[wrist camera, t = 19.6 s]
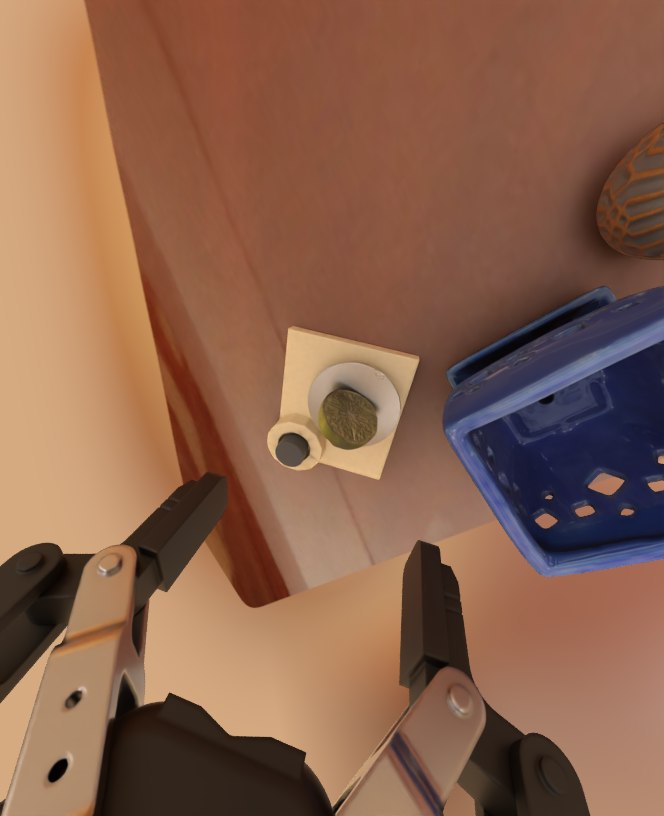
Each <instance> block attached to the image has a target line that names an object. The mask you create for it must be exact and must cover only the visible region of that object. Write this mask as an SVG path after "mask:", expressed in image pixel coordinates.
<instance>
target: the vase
mask: <svg viewBox="0 0 664 816" xmlns="http://www.w3.org/2000/svg"><path fill="white" fill-rule="evenodd" d="M597 225H598V229H599V232H600V234H601V236H602V238H603V239H604V240H605V242H606V243H607V244H608V245H609V246H611V247H612V248H613V249H614V250H616V251H618V252H620V253H622V254H624V255H627V256H630V257H634V258H640V259H648V260H664V123H662V124H661V125H659V126H658V127H657V128H655V129H654V130H652V131H651V132H650V133H649V134H647V135H646V136H645V137H644V138H643V139H642V140H640V141H639V142H638V143H637V144H636V145H635V146H634V147H633V148H632V149H631V150H630V151H629V152H628V153H627V154H626V155H625V156H624V158H623V159H622V160H621V161H620V162H619V164H618V165H617V166H616V168H615V169H614V170H613V172H612V173H611V175H610V176H609V178H608V180H607V181H606V183H605V185H604V187H603V190H602V192H601V195H600V198H599V201H598V206H597Z"/></svg>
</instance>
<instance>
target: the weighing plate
mask: <svg viewBox="0 0 664 816" xmlns="http://www.w3.org/2000/svg"><path fill="white" fill-rule="evenodd" d="M337 389H340V390H347V391H352V392H355V393H357V394H359V395H361V396H362V397H364V398H365V399H367V400H368V401H369V402H370V403H371V405H372V407H373V408H374V409H375V412H376V416H377V418H378V426H377V432H376V434H375V436H374V437H373V438H372V439H371V440H370V441H369V442H368V443H366V444H365V445H364V446H362V447H366V446H370V445H374V444H377V443H379V442H381V441H382V440H384V439H385V438H387V437H388V436H389V435H390V434H391V433H392V432H393V430H394V429H395V427H396V426H397V423H398V421H399V418H400V412H401V401H400V397H399V394H398V391H397V389H396V387H395V385H394V384H393V382H392V381H391V380H390V378H389V377H388V376H387V375H386V374H384V373H383V372H382V371H380V370H379V369H377V368H376V367H373V366H371V365H369V364H366V363H362V362H355V361H347V362H340V363H337V364H334V365H331V366H329V367H327V368H326V369H325V370H323V371H322V372H321V373H320V374H319V375H318V376H317V377H316V378H315V380H314V381H313V383H312V385H311V387H310V390H309V394H308V409H309V413H310V416H311V418H312V420H313V422H314V424H315V425H316V427H317V428H318V429H319V430H320V427H319V423H318V412H319V409H320V406H321V404H322V402H323V400H324V398H325V397H326V396H327V395H328V394H329V393H331V392H333V391H335V390H337ZM320 431H321V430H320Z"/></svg>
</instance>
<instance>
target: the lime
mask: <svg viewBox="0 0 664 816" xmlns="http://www.w3.org/2000/svg"><path fill="white" fill-rule="evenodd" d="M318 423H319V427H320V430H321V433H322V435H323V436H324V437H325V438H326V439H327V440H329V441H330V443H331V444H332V445H333V446H335V447H338V448H341V449H344V450H354V449H357V448H360V447H362V446H364V445H365V444H366V443H368V442H369V441H370V440H371V439H372V438H373V437H374V436H375V434H376V432H377V426H378V418H377V416H376V412H375V409H374V408H373V407H372V405H371V403H370V402H369V401H368V400H367V399H365V398H364V397H362V396H361V395H359V394H357V393H355V392H352V391H347V390H340V389H337V390H335V391H333V392H331V393H329V394H328V395H327V396H326V397H325V398H324V400H323V402H322V404H321V406H320V409H319V412H318Z"/></svg>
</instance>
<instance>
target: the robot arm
mask: <svg viewBox="0 0 664 816" xmlns="http://www.w3.org/2000/svg"><path fill="white" fill-rule="evenodd" d="M227 502H228V496H227V478H226V477H225V476H222V475H219V474H216V473H213V472H207V473H205V474H204V475H203V476H202V478H201V479H200V480H199V481H198V482H196V481H193V480H191V481H189V482H187V483H186V484H184V485H182V486H180V487H178V488H177V489H176V491H174V493H172V495H170V496H169V498H168V499H167V500H166V501H165V502H164V503H162V504H161V506H160V508H158V509H156V511H154V513H153V514H151V515H150V517H148V518H147V520H145V521H144V522H143V523H142V525H140V526H139V528H138V529H137V530H135V531H134V533H133V534H132V535H130V536H129V537H128V538H127V539H126V540H125V541H124V542H123V543H121V544H120V545H114V546H110V547H108V548H105V549H103V550H101V551H100V552H98V553H97V554H63V553H62V550H61V549H60V547H59V546H58V545H56V544H53V543H41V544H37V545H33V546H30V547H28V548H25V549H24V550H22V551H20V552H18V553H17V554H15V555H14V556H12V557H11V558H10V559H9V560H7V561H6V562H5V563H4V564H2V565H1V566H0V703H1V702H2V701H3V700H4V698H5V697H6V696H7V695H8V694H9V693H10V692H11V690H12V689H13V688H14V687H15V686H16V684H17V683H18V682H19V681H20V680H21V679H22V678H23V676H24V675H25V674H26V673H27V672H28V671H29V669H30V668H31V667H32V666H33V665H34V664H35V663H36V661H37V660H38V659H39V658H40V657H41V655H42V654H43V653H44V652H45V651H46V650H47V649H48V647H49V646H50V645H51V644H52V642H54V640H55V639H56V638H57V637H58V636H59V635H60V633H61V632H62V631H63V630H64V629H65V628H66V626H67V625H68V627H67V630H66V634H65V637H64V639H63V641H62V643H61V644H59V645H57V646H55V648H54V649H53V650H52V652H51V654H50V656H49V658H48V661H47V664H46V667H45V671H44V674H43V677H42V681H41V684H40V687H39V691H38V694H37V697H36V701H35V704H34V707H33V711H32V714H31V717H30V721H29V724H28V728H27V731H26V734H25V737H24V740H23V744H22V747H21V750H20V754H19V757H18V761H17V764H16V767H15V770H14V774H13V777H12V780H11V784H10V787H9V790H8V794H7V797H6V799H4V800H3V801H2V802H0V816H443V810H444V806H445V804H446V802H447V799H448V798H449V796H450V794H451V792H452V790H453V788H454V786H455V784H456V782H457V783H458V784H459V785H460V786H461V787H462V788H463V789H464V790H465V791H466V792H467V793H468V794H469V795H470V796H471V797H472V798H473V799H475V811H476V816H590V813H589V810H588V806H587V802H586V799H585V796H584V792H583V789H582V786H581V783H580V780H579V778H578V776H577V774H576V772H575V770H574V768H573V766H572V765H571V763H570V761H569V760H568V758H567V757H566V756H565V755H564V753H563V752H562V751H561V750H560V749H559V748H558V746H557V745H555V744H554V743H553V742H552V741H551V740H550V739H548V738H547V737H545V736H543V735H541V734H538V733H529V734H527V735H524V734H523V733H522V732H521V731H519V730H518V729H517V728H515V727H514V726H513V725H512V724H510V723H509V722H508V721H507V720H505V719H504V718H503V717H502V716H500V715H499V714H498V713H497V712H496V711H494V710H493V709H492V708H491V707H490V706H489V705H488V704H487V703H486V701H485V700H484V699H483V697H482V696H481V694H480V692H479V690H478V688H477V687H476V685H475V683H474V681H473V678H472V675H471V671H470V666H469V658H468V652H467V644H466V637H465V629H464V621H463V615H462V607H461V602H460V593H459V585H458V581H457V579H456V577H455V575H454V573H453V571H452V569H451V567H450V566H447V565H444V564H442V563H441V557H440V549H439V547H438V546H435V545H432V544H429V543H426V542H423V541H420V540H418V541H417V542H416V544H415V546H414V548H413V550H412V552H411V554H410V556H409V558H408V560H407V562H406V564H405V568H404V573H403V589H402V619H401V649H400V650H401V651H400V680H399V684H400V685H401V686H404V687H406V688H409V705H408V706H407V708H406V709H405V710H404V711H403V713H402V714H401V716H400V717H399V718H398V720H397V721H396V722H395V724H394V725H393V726H392V728H391V729H390V731H389V732H388V733H387V734H386V736H385V737H384V738H383V740H382V741H381V743H380V744H379V745H378V747H377V748H376V749H375V751H374V752H373V753H372V755H371V756H370V757H369V759H368V760H367V761H366V763H365V764H364V765H363V766H362V767H361V769H360V770H359V771H358V773H357V774H356V775H355V776H354V778H353V779H352V780H351V782H350V783H349V784H348V786H347V787H346V788H345V790H344V791H343V792H342V794H341V795H340V796H339V798H338V799H337V800H336V802H335V803H334V804H333V806H331V803H330V801H329V798H328V796H327V794H326V792H325V789H324V788H323V786H322V784H321V783H320V781H319V779H318V778H317V776H316V775H315V774H314V772H313V771H312V770H311V768H310V767H309V766H308V765H307V764H305V762H304V761H305V756H306V752H304V751H302V750H299V749H297V748H295V747H292V746H290V745H288V744H285V743H283V742H281V741H279V740H276V739H274V738H272V737H246V736H244V737H243V736H231V735H229V734H228V733H227V732H226V731H225V730H224V729H223V728H222V727H221V726H220V725H219V724H218V723H217V722H216V721H215V720H214V719H213V718H212V717H211V716H210V715H209V714H208V713H207V712H206V711H205V710H204V709H203V708H202V707H201V706H199V705H197V704H195V703H192V702H190V701H188V700H185V699H183V698H181V697H179V696H176V695H174V694H172V693H169V694H168V696H167V698H166V700H165V701H164V702H155V703H150V704H146V705H144V695H145V670H144V654H145V644H146V632H147V621H148V609H149V598H150V597H151V596H152V594H153V593H154V592H155V590H156V589H160V590H162V591H165V592H167V591H168V590H169V589H170V587H171V586H172V584H173V583H174V582H175V580H176V579H177V577H178V576H179V575H180V573H181V572H182V571H183V569H184V568H185V566H186V565H187V564H188V562H189V561H190V560H191V558H192V557H193V555H194V554H195V553H196V551H197V550H198V549H199V547H200V546H201V544H202V543H203V542H204V540H205V539H206V538H207V536H208V535H209V533H210V532H211V531H212V529H213V528H214V526H215V525H216V524H217V522H218V521H219V520H220V518H221V517H222V515H223V514H224V512H225V509H226V507H227Z"/></svg>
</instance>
